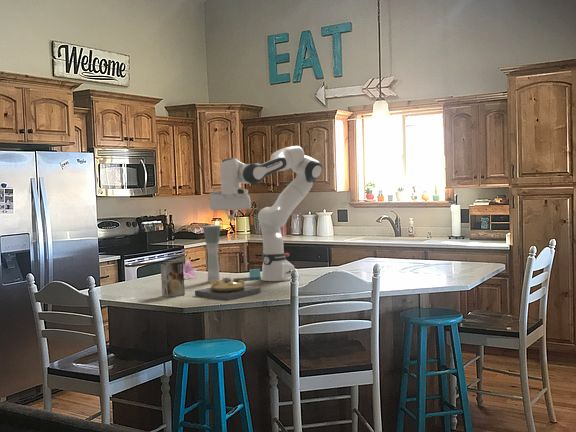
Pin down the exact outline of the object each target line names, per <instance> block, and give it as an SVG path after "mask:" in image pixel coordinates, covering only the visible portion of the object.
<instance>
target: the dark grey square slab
mask: <svg viewBox="0 0 576 432" xmlns="http://www.w3.org/2000/svg"><path fill="white" fill-rule="evenodd" d="M261 291H262V290H261V287H258V286H250V285H249V286H248V285H245V288H244V289H242V290H237V291H212V290H211V287H207V288H203V289H202V288H201V289H198V290H197V289H196V290H194V296H195V297H201V298H207V299H213V300H214V299H216V300H224V301H230V300H231V301H232V300H235V299H240V298H245V297H249V296H253V295H257V294H261Z"/></svg>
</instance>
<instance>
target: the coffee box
mask: <svg viewBox="0 0 576 432" xmlns="http://www.w3.org/2000/svg"><path fill="white" fill-rule="evenodd" d="M183 264H184V262H183V261H179V260H174V261H167V262H166V261H165V262H160V277H161V294H162V297H165V298H170V297H171V298H172V297H177V296H185V294H186V293H185V291H186V290H185V276H184V273H183Z"/></svg>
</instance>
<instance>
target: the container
mask: <svg viewBox="0 0 576 432" xmlns="http://www.w3.org/2000/svg"><path fill="white" fill-rule="evenodd" d="M221 228H222V227H221V225H219V224H218V225H204V226H202V230H203V234H204V238H205V245H206V251H207V280H206V281H207V283H210V284H211V282H210V280H217V281H219V280H221V278H220V267H219V254H218V252H219V243H220V234H221Z"/></svg>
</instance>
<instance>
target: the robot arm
mask: <svg viewBox="0 0 576 432" xmlns="http://www.w3.org/2000/svg"><path fill="white" fill-rule="evenodd" d="M219 167H220V172H219V173H220V174H219V175H220V179H221V182H220V190H219V191H218V190H217V191H214V190H213V191H211V192H210V193H209V200H210V203H209V208H210V210H211V211H224V212H225V214H226V215H227V219H228V220H230V219H231V220H235V215H236V213H237V210H250V209H251V208H252V201H251V197H250V195H249V190H248V189H247V188H243V187H240V186H239V185H240V184H244V185H245V184H250V185H251V184H252V185H253V184H254V185H257V184H260V183H261V182H262V181H264V179H265V178H267V176H270V175H272V174H274V173H277V172H283V171H287V170H290V171H292V172H293V173H295V174H296V175H295V177H294V179H293V180H291V182H289V184H288V185H287V186H286V187H285V188H284V189H283V190H282V192H281V193H280V194H279V195H278V197H277V199H276V201H275V202H274V203H273V205H272V206H266V207H263V208H261V209H260V210H259V211H258V214H257V220H258V222H259V227H260V232H261V237H262V262H263V263H262V266H261V267H262V269H261V275H260V277H261V280H260V281H265V282H286V281H287V282H288V281H291V280H292V279H291V270H293V269H295V270H296V268H295V266H294V265H293V264H292V263H291V262H289V260H287V257H288V258H289V256H290V253H288V252H285V250H284V246H285V245H284V237H283V235H282V231H281V228H282V227H284V226H285V225H286V224H287V222H288V219H290V216H291V215H292V213H293V211H295V208H297V206H298V205H300V203H301V202H302V201H303V200H304V199H305V197H306V196H307V195H308V194H309V192H310V191H311V189H312V188H313V185H314V182H316V181H317V179H319V178H320V176H321V175H322V174H323V169H324V168H323V165H322V163H321V162H320V161H319V160H317V159H315V158H313V157H311V156H309V155H305V152H304V149H303V147H301V146H300V145H292V146H291V145H290V146H287V147H282V148H280V149H277V150H276V151H274V152H272V153H271V154H270V160H267V161H266V162H263V163H259V162H258V163H255V162H254V163H247V164H246V163H243V162H241V161H239V160H238V159H237V158H236V157H229V158H224V159H223V160H221V161H220V166H219ZM230 210H232V212H233V213H232V214H230V213H229V212H230ZM298 275H299V277H298V278H300V277H301V276H300V274H298Z"/></svg>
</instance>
